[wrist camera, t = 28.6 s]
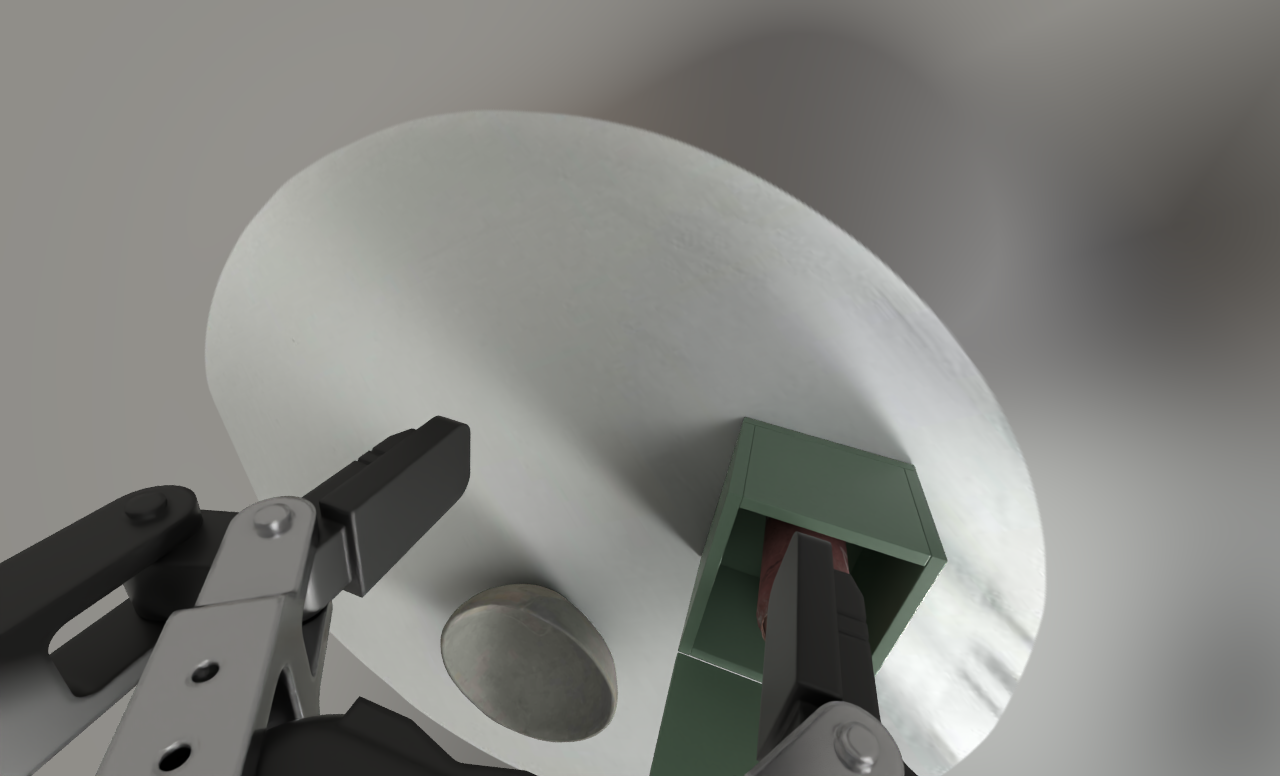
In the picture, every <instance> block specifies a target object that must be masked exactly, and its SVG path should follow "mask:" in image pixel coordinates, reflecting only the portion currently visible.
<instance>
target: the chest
mask: <svg viewBox="0 0 1280 776" xmlns="http://www.w3.org/2000/svg"><path fill="white" fill-rule="evenodd" d="M766 516H768V517H771V518H775V519H778V520H781V521H784V522H787V523H790V524H793V525H796V526H800V527H803V528H806V529H809V530H812V531H815V532H818V533H821V534H825V535H828V536H831V537H834V538H837V539H840V540H843V541H846V548H847V558H848V567H849V574H851V576H852V577H853V579H854V581H855V583H856V584H857V586H858V588H859V590H860V591H861V593H862V595H863V597H864V604H865V611H866V618H867V620H866V624H867V626H868V633H869V640H868V642H869V643H870V648H871V656H872V663H873V670H874V678H875V676H876V675H877V673H878V671H879V670H880V668H881V667H882V665H883V663H884V662H885V660H886V659H887V657H888V655H889V654H890V652H891V651H892V649H893V647H894V646H895V644H896V643H897V641H898V639H899V638H900V636H901V635H902V633H903V631H904V630H905V628H906V627H907V625H908V624H909V622H910V620H911V619H912V617H913V616H914V614H915V612H916V611H917V609H918V608H919V606H920V604H921V603H922V601H923V600H924V598H925V596H926V595H927V593H928V592H929V590H930V588H931V587H932V585H933V584H934V582H935V580H936V579H937V577H938V576H939V574H940V572H941V571H942V569H943V568H944V566H945V564H946V563H947V558H946V555H945V552H944V549H943V546H942V543H941V540H940V538H939V535H938V532H937V529H936V526H935V523H934V520H933V518H932V515H931V512H930V509H929V506H928V503H927V500H926V498H925V495H924V492H923V489H922V486H921V483H920V481H919V478H918V475H917V472H916V469H915V466H914V465H911V464H908V463H904V462H901V461H897V460H894V459H891V458H887V457H884V456H880V455H877V454H873V453H870V452H866V451H863V450H859V449H856V448H852V447H849V446H845V445H842V444H838V443H835V442H831V441H828V440H824V439H821V438H817V437H814V436H810V435H807V434H803V433H800V432H796V431H793V430H789V429H786V428H782V427H779V426H775V425H772V424H768V423H765V422H761V421H758V420H754V419H751V418H747V417H744V420H743V423H742V426H741V430H740V433H739V436H738V439H737V443H736V446H735V449H734V452H733V456H732V459H731V462H730V465H729V469H728V472H727V475H726V478H725V482H724V485H723V488H722V492H721V495H720V498H719V501H718V505H717V508H716V511H715V514H714V518H713V521H712V524H711V527H710V531H709V534H708V537H707V540H706V544H705V547H704V550H703V553H702V557H701V561H700V565H699V568H698V572H697V576H696V580H695V584H694V589H693V593H692V597H691V601H690V605H689V609H688V613H687V617H686V621H685V625H684V629H683V633H682V637H681V641H680V645H679V649H678V651H679V652H682V653H684V654H687V655H691V656H693V657H696V658H698V659H701V660H704V661H706V662H709V663H711V664H714V665H717V666H719V667H722V668H725V669H727V670H730V671H733V672H735V673H738V674H740V675H743V676H746V677H748V678H751V679H754V680H756V681H759V682H762V679H763V666H764V653H765V641H764V639H763V637H762V632H761V631H760V629H759V627H758V623H757V617H756V612H757V602H758V592H759V582H760V573H761V563H762V553H763V543H764V533H765V523H766Z"/></svg>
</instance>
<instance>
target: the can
mask: <svg viewBox="0 0 1280 776" xmlns="http://www.w3.org/2000/svg"><path fill="white" fill-rule="evenodd" d="M796 531H797V532H800V533H803V534H807V535H810V536H813V537H816V538H819V539H822V540H825V541H828V542H830V543H831V545H832V554H833V567H834V569H836V570H839V571H842V572H845V573H848V574H849V567H848V558H847V548H846V541H843V540H840V539H837V538H834V537H831V536H828V535H825V534H821V533H818V532H815V531H812V530H809V529H806V528H803V527H800V526H796V525H793V524H790V523H787V522H784V521H781V520H778V519H775V518H771V517H768V516H766V523H765V533H764V543H763V553H762V563H761V573H760V582H759V592H758V602H757V612H756V617H757V623H758V627H759V629H760V631H761V632H762V637H763V639H764V641H765V640H766V627H767V614H768V604H769V598H770V593H771V589H772V586H773V583H774V580H775V577H776V575H777V572H778V570H779V567H780V565H781V563H782V560H783V558H784V555H785V553H786V551H787V548H788V546H789V543H790V541H791V538H792V536H793V534H794V533H795V532H796Z"/></svg>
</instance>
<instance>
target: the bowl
mask: <svg viewBox="0 0 1280 776" xmlns="http://www.w3.org/2000/svg"><path fill="white" fill-rule="evenodd" d="M441 654H442V659H443V662H444V665H445V668H446V670H447V672H448V674H449V676H450V677H451V679H452V681H453V682H454V683H455V684H456V686H457V687H458V688H459V690H460V691H461V692H462V693H463V694H464V695H465V696H466V697H467V698H468V699H469V700H470V701H471V702H472V703H473V704H474V705H475V706H476V707H477V708H478V709H480V710H481V711H482V712H483V713H484V714H485V715H486V716H488V717H489V718H490V719H492V720H493V721H495V722H496V723H498V724H500V725H502V726H504V727H506V728H508V729H511V730H513V731H516V732H518V733H520V734H523V735H526V736H528V737H532V738H535V739H538V740H543V741H549V742H574V741H581V740H585V739H588V738H591V737H593V736H595V735H597V734H598V733H600V732H601V731H603V730H604V729H605V728H606V727H607V726H608V725H609V724H610V722H611V721H612V719H613V716H614V714H615V711H616V707H617V699H618V688H617V677H616V670H615V665H614V661H613V658H612V655H611V652H610V650H609V648H608V646H607V645H606V643H605V641H604V639H603V638H602V636H601V635H600V633H599V632H598V631H597V630H596V628H595V627H594V626H593V625H592V623H591V622H590V621H589V620H588V619H587V618H586V617H585V616H584V615H583V614H582V613H581V612H580V611H579V610H578V609H577V608H576V607H575V606H574V605H572V604H571V603H570V602H569V601H568V600H567V599H565V598H564V597H563V596H561V595H560V594H558V593H557V592H555V591H553V590H550V589H548V588H545V587H542V586H538V585H531V584H511V585H504V586H500V587H495V588H491V589H488V590H486V591H483V592H481V593H479V594H477V595H475V596H474V597H472V598H471V599H469V600H468V601H466V602H465V603H464V604H462V605H461V606H460V607H459V608H458V609H457V610H456V611H455V612H454V613H453V614H452V616H451V617H450V618H449V620H448V621H447V623H446V624H445V626H444V628H443V631H442V635H441Z"/></svg>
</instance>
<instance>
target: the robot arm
mask: <svg viewBox="0 0 1280 776" xmlns="http://www.w3.org/2000/svg"><path fill="white" fill-rule="evenodd" d="M469 478H470V428H469V426H468V425H467V424H464V423H461V422H458V421H455V420H452V419H449V418H446V417H442V416H436V417H434V418H432V419H431V420H429V421H428V422H427V423H425V424H424V425H422V426H421V427H420V428H418V429H417V430H415V429H409V430H406V431H403V432H400V433H398V434H395V435H392V436H389V437H388V438H387V439H385V440H384V441H382V442H381V443H379V444H378V445H377V446H375V447H374V448H373V449H372V451H368V452H366V453H365V454H364V455H362V456H361V457H359V458H358V461H354V462H352V463H351V464H349V465H348V466H346V467H345V468H343V469H342V470H341V471H339V472H338V473H336V474H335V475H333V476H332V477H331V478H329V479H328V480H326V481H325V482H323V483H322V484H320V485H319V486H318V487H316V488H315V489H313V490H312V491H310V492H309V493H308V494H306V495H305V496H303V497H302V498H300V497H295V496H281V497H274V498H270V499H266V500H263V501H260V502H257V503H255V504H252V505H251V506H249V507H247V508H245V509H244V510H242V511H241V512H226V511H212V510H200V508H199V504H198V501H197V498H196V495H195V494H194V492H193V491H192V490H190V489H188V488H186V487H182V486H174V485H164V486H155V487H150V488H145V489H142V490H139V491H135V492H132V493H130V494H127V495H125V496H123V497H121V498H119V499H116V500H115V501H113V502H111V503H109V504H107V505H106V506H104V507H102V508H100V509H98V510H96V511H95V512H93V513H91V514H89V515H87V516H86V517H84V518H82V519H80V520H78V521H76V522H75V523H73V524H71V525H69V526H67V527H65V528H64V529H62V530H60V531H58V532H56V533H55V534H53V535H51V536H49V537H47V538H46V539H44V540H42V541H40V542H38V543H36V544H35V545H33V546H31V547H29V548H27V549H26V550H24V551H22V552H20V553H18V554H16V555H15V556H13V557H11V558H9V559H7V560H5V561H4V562H2V563H0V776H31V775H33V774H34V773H35V772H36V771H37V770H38V769H39V768H41V767H42V766H43V765H44V764H45V763H46V762H48V761H49V760H50V759H51V758H52V757H53V756H55V755H56V754H57V753H58V752H59V751H60V750H62V749H63V748H64V747H65V746H66V745H67V744H69V743H70V742H71V741H72V740H73V739H74V738H76V737H77V736H78V735H79V734H80V733H81V732H83V731H84V730H85V729H86V728H87V727H88V726H89V725H91V724H92V723H93V722H94V721H95V720H97V719H98V718H99V717H100V716H101V715H102V714H103V713H105V712H106V711H107V710H108V709H109V708H110V707H111V706H113V705H114V704H115V703H116V702H117V701H119V700H120V699H121V698H122V697H123V696H124V695H126V694H127V693H128V692H129V691H130V690H131V689H133V687H135V686H136V685H137V686H136V688H135V691H134V693H133V695H132V697H131V699H130V701H129V703H128V706H127V708H126V710H125V712H124V714H123V716H122V719H121V721H120V723H119V725H118V727H117V729H116V732H115V734H114V736H113V738H112V741H111V743H110V745H109V747H108V749H107V751H106V753H105V755H104V758H103V760H102V762H101V764H100V766H99V768H98V771H97V773H96V775H95V776H537V775H535V774H532V773H530V772H528V771H524V770H516V769H507V768H498V767H489V766H480V765H472V764H464V763H460V762H457V761H455V760H454V759H453V758H452V757H451V756H449V755H448V754H447V753H446V752H445V751H444V750H443V749H442V748H441V747H440V746H439V745H438V744H437V743H436V742H435V741H433V739H431V738H430V737H429V736H428V735H427V734H426V733H425V732H424V731H423V730H422V729H421V728H420V727H419V726H417V724H416V723H415V722H414V721H412V720H411V719H409V718H407V717H405V716H402V715H400V714H398V713H396V712H394V711H391V710H389V709H387V708H385V707H382V706H380V705H378V704H376V703H373V702H371V701H369V700H367V699H365V698H362V697H359V698H358V699H357V700H356V701H355V703H354V704H353V705H352V706H351V708H350V709H349V710H348V711H347V713H346V714H326V715H320V709H319V708H320V707H319V696H320V685H321V678H322V672H323V666H324V660H325V654H326V648H327V641H328V635H329V629H330V623H331V616H332V610H333V604H332V599H334V598H335V597H336V596H337V595H338V594H339V593H340V592H341V591H342V590H345V591H347V592H350V593H352V594H355V595H357V596H359V597H363V596H364V595H365V594H366V593H367V592H368V591H369V590H370V589H371V588H372V587H373V586H374V585H375V584H376V583H377V582H378V581H379V580H380V579H381V578H382V577H383V576H384V575H385V574H386V573H387V572H388V571H389V570H390V569H391V568H392V567H393V566H394V565H395V564H396V563H397V562H398V561H399V560H400V559H401V558H402V557H403V556H404V555H405V554H406V553H407V552H408V551H409V549H410V548H411V547H412V546H413V545H414V544H415V543H416V542H417V541H418V540H419V539H420V538H421V537H422V536H423V535H424V534H425V533H426V532H427V531H428V530H429V529H430V528H431V527H432V526H433V525H434V524H435V523H436V522H437V521H438V520H439V519H440V518H441V517H442V516H443V515H444V514H445V513H446V512H447V511H448V510H449V509H450V508H451V507H452V506H453V505H454V504H455V503H456V502H457V501H458V500H459V498H460V497H461V496H462V495H463V493H464V491H465V489H466V487H467V485H468V482H469ZM122 584H123V585H124V587H125V589H126V592H127V594H128V596H129V598H128V599H127V600H125V601H124V602H123V603H121V604H120V605H119V606H117V607H116V608H114V609H113V610H112V611H110V612H109V613H107V614H106V615H104V616H103V617H102V618H100V619H99V620H98V621H96V622H95V623H93V624H92V625H90V626H89V627H88V628H86V629H85V630H83V631H82V632H81V633H79V634H78V635H77V636H75V637H74V638H72V639H71V640H69V641H68V642H67V643H65V644H64V645H62V646H61V647H60V648H58V649H57V650H55V651H54V652H53V653H51V654H50V655H49V654H48V647H49V644H50V641H51V640H52V638H53V636H54V635H55V633H56V632H57V631H58V630H59V629H60V628H61V627H62V626H63V625H64V624H66V623H67V622H68V621H70V620H71V619H73V618H74V617H75V616H77V615H78V614H80V613H81V612H83V611H84V610H86V609H87V608H88V607H90V606H92V605H93V604H94V603H96V602H97V601H99V600H100V599H102V598H103V597H105V596H106V595H108V594H109V593H110V592H112V591H113V590H115V589H116V588H118V587H119V586H121V585H122ZM866 620H867V618H866V611H865V604H864V597H863V595H862V593H861V591H860V590H859V588H858V586H857V584H856V583H855V581H854V579H853V577H852V576H851V574H848V573H845V572H842V571H839V570H836V569H834V567H833V554H832V545H831V543H830V542H828V541H825V540H822V539H819V538H816V537H813V536H810V535H807V534H803V533H800V532H797V531H796V532H795V533H794V534H793V536H792V538H791V541H790V543H789V546H788V548H787V551H786V553H785V555H784V558H783V560H782V563H781V565H780V567H779V570H778V572H777V575H776V577H775V580H774V583H773V586H772V589H771V593H770V598H769V604H768V614H767V627H766V640H765V653H764V666H763V679H762V692H761V705H760V718H759V731H758V745H757V758H756V760H758V761H760V762H758V763H757V764H756V765H755V766H754V767H753V768H752V769H751V770H750V771H748V772H747V773H746V774H745V775H744V776H917V775H916V774H915V773H914V772H913V771H912V770H911V769H910V768H909V767H908V766H907V765H906V764H905V763H904V761H903V759H902V756H901V753H900V751H899V748H898V746H897V744H896V743H895V741H894V739H893V737H892V736H891V735H890V733H889V732H888V730H887V729H886V728H885V727H884V726H883V725H882V724H881V719H880V715H879V707H878V700H877V693H876V685H875V678H874V670H873V663H872V656H871V648H870V643H869V642H868V640H869V633H868V626H867V624H866Z"/></svg>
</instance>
